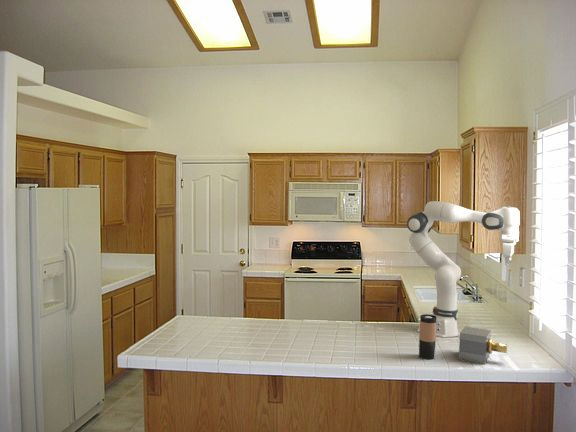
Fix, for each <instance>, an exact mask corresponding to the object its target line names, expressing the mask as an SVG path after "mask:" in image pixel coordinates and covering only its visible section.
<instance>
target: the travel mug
mask: <svg viewBox="0 0 576 432" xmlns="http://www.w3.org/2000/svg"><path fill="white" fill-rule="evenodd" d="M419 319H420V320H419V327H420V332H419V334H418V336H419V340H418V357H419V359H422V360H428V361H429V360H430V361H431V360H434V359H435V353H436V343H437V342H436V341H437V340H436V338H437V336H436V320H437V317H436V316H434V315H431V314H430V313H429V314H428V313H426V314H424V313H423V314H421V315H420V318H419Z"/></svg>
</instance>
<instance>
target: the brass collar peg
mask: <svg viewBox="0 0 576 432" xmlns="http://www.w3.org/2000/svg"><path fill="white" fill-rule="evenodd" d="M493 339H494V338H490V339H489V341H488V343H487V351H488V353H489V355H492V353H493V352H497V353H502V354H503V353H504V354H507V352H508V344H507V343H506V344H505V343H500V342H494V340H493Z"/></svg>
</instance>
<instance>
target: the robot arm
mask: <svg viewBox="0 0 576 432" xmlns="http://www.w3.org/2000/svg"><path fill="white" fill-rule="evenodd" d="M520 220H521V219H520V210H519V209H518V208H517V207H514V206H510V205H509V206H508V205H504V206H501V207H500V208H499V209H496V210H493V211H489V212H486V211H479V210H473V209H469V208H466V207H463V206H460V205H458V204H455V203H451V202H449V201H448V202H447V201H438V200H437V201H436V200H434V201H433V200H432V201H428V202H427V203H426V205H425V206H424V210H423V211H419V212H417V213H415V214H412V215H410V216H409V218H408V219H407V222H406V227H407V228H408V230H409V231H410V232H411V234H410V235H409V237H408V241H409V243H410V245H411V246H412V248H413V249H414V251H415V252H416V254H417V255H418V256H419V257H420V258H421V259H422V261H424V263H425V264H426V265H427V266H429V267H430V268H431V269H432V270H434V271H435V274H434V278H435V279H434V280H435V285H436V306H434V307H433V308H432V314H430V315H434V316H436V317H437V320H436V337H440V338H449V337H450V338H451V337H452V338H453V337H458V336H460V332H459V330H458V329H459V328H458V316H459V311H458V297H459V295H458V292H457V282H459V280H460V278H461V276H462V269H461V267H460V266H459V265H458V264H456V263H455V262H454V261H453V260H452V259H451V258H450V257H449V256H447V255H446V254H445V253H444V252H443V251H442V250H441V249H440V248H439V247H438V245H437V244H436V243H435V242H434V241H433V240H432V239H431V237H430V236H429V235H428V233H430V232H431V230H432V228H433V227H434V225H435V222H437V221H438V222H441V223H448V224H449V223H450V224H451V223H452V224H455V223H463V222H464V223H465V222H471V223H478V224H481V225H482V226H483V227H484V228H485V229H486V230H488V231H499V230H500V233H499V234H500V235H499V236H500V237H499V239H500V240H499V241H500V242H502V243H501V246H502V256H503V258H504V262H505V263H504V265H505V266H510V264H511V262H512V256H513V255H514V253H515V246H516V244H517V242H519V241H520V240H519V237H520V231H519V230H520V229H519V226H520V222H521V221H520ZM416 331H417V333H420V326H419V327H418V328H417V330H416Z"/></svg>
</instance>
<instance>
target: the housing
mask: <svg viewBox="0 0 576 432" xmlns="http://www.w3.org/2000/svg"><path fill="white" fill-rule="evenodd" d="M491 332H492V331H491V329H486V328H480V327H471V326H466V325H465V326H464V327H463V328H462V330H461V331H460V332H459V343H458V344H459V347H458V348H459V349H458V360H459V361H463V360H464V361H465V362H469V363H475V364H480V363H481V364H482V365H486V364H487V362H488V359H489V358H490V354H489V353H488V351H487V343H488V341H489V339H491V335H492V334H491Z"/></svg>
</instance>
